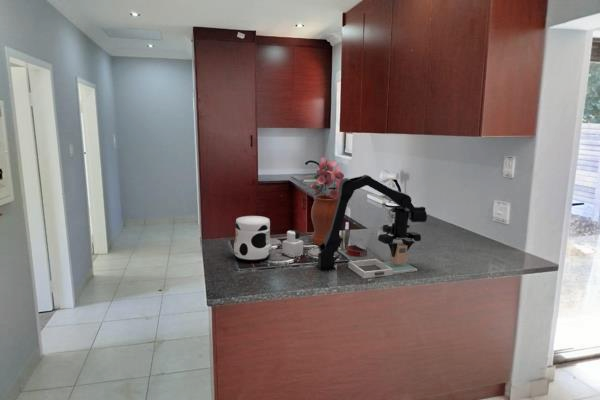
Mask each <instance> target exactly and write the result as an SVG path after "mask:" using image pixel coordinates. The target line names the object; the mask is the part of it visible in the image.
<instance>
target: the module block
mask: <svg viewBox="0 0 600 400" xmlns="http://www.w3.org/2000/svg"><path fill="white" fill-rule="evenodd" d="M396 243H397V248H396V253H395V256H394V257H392V254H391V252H390V256H389V261H392V262H393V263H395V264H403V263H407V258H408V257H407V256H408V251H407V245H405V244H403V242H396Z"/></svg>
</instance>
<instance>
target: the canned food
mask: <svg viewBox="0 0 600 400" xmlns="http://www.w3.org/2000/svg"><path fill="white" fill-rule="evenodd" d="M349 239H350V241H351V243H353V244H351V245H347V246H346V252H345V254H346V253H347V254H348V255H347V254H346V255H347V256H349V255H350V256H349V257H354V258H363V257H365V256H367V255H368V254H367V253H368V248H367V247H366V246H365V245H363V244H362V243H360V242H359V241H357V240H356V239H354V238H353V237H352V236H351V235H349Z"/></svg>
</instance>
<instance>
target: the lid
mask: <svg viewBox="0 0 600 400" xmlns="http://www.w3.org/2000/svg"><path fill="white" fill-rule="evenodd" d="M381 262H382V263H384V264H385V265H387V266H389V267H391V268H392V269H393V275H396V274H402V273H403V274H405V273H412V272H418V269H417V268H416V267H414V266H412V265H410V264H409V263H407V262H406V263H403V264H395V263H393V262H392V261H390V260H388V261H381Z"/></svg>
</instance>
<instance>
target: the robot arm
mask: <svg viewBox="0 0 600 400" xmlns="http://www.w3.org/2000/svg"><path fill="white" fill-rule="evenodd" d="M367 186H368V187H370V188H371V189H374V190H375V191H377V192H378V193H380V194H383V195H384V196H386V197H387V198H389V199H390V200H391V201H392V202H393V203H394V204H395V205H397V206H399V207H397V206H395V205H394V206H393V207H392V208H390V211H391V212H392V213H394V222H392V224H391V226H390V225H389V224H383V225H382V231H383V233H380V234H379V235H378V236H377V237H378V238H377V240H378V241H379V242H380V243H383V244H385V245H388V247H389V250H390V253H391V254H392V257H394V256H395V253H396V248H397V243H398V242H396V241H399V240H401V243H403V244H405V245H407V252H408V251H410V250H409V249H410V248H411V247H412V245H414V244H415V243H416V242H422V236H421V233H418V232H415V231H408V229H409V228H410V224H409V221H410V222H411V223H426V222H427V220H428V215H427V211H426V207H425V206H414V204H413V203H412V197H411V196H409V194H406V193H404V192H403V191H398V190H395V189H392V188H390V187H388V186H387V185H384V184H383V183H381V182H380V181H378V180H375V178H373V177H372V176H370V175H368V174H363V175H360V176H355V177H351V178H348V177H347V178H346V177H345V178H344V177H343V179H342V180H341V181H340V183H339V190H338V191H339V199H338V203H337V207H336V210H335V214H334V217H333V221H332V225H331V228H330V230H329V232H328V233H327V235H326V237H325V239H324V242H323V243H322V244H321V245H320V246H318V250H319V253H317V264H315V266H316V267H317V268H318V269H319V270H320V271H331V270H336V267H335V262H336V258H335V253H336V252H338V250H339V248H341V244H342V242H343V237H342V236H341V234H340V233H341V229H342V225H343V221H344V217H345V214H346V212H347V211H346V210H347V206H348V203H349V201H350V200H351V198H352V197H353V195H354V193H355V191H356V190H360V189H361V188H364V187H367Z"/></svg>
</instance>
